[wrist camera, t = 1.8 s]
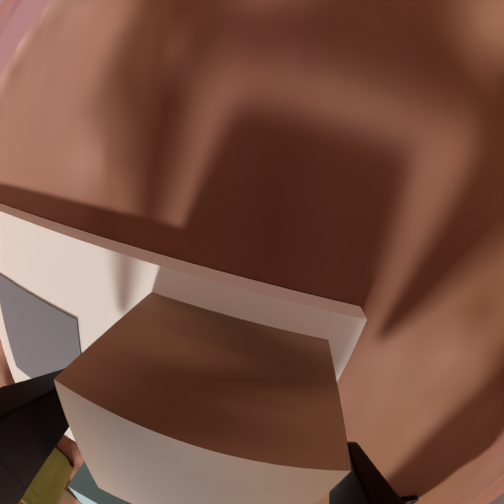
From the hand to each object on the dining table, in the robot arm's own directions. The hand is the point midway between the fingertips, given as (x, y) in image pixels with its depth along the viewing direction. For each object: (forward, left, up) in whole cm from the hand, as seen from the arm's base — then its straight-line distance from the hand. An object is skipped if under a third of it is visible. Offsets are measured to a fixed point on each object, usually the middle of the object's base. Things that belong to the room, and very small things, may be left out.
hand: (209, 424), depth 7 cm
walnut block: (0, 0, -2) cm, 2 cm away
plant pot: (+16, +22, -3) cm, 27 cm away
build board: (+6, +4, -3) cm, 7 cm away
